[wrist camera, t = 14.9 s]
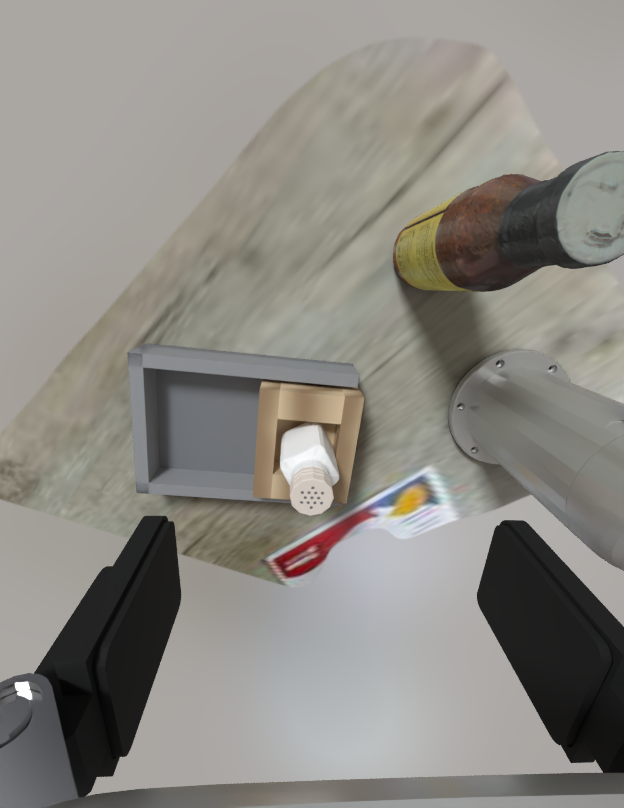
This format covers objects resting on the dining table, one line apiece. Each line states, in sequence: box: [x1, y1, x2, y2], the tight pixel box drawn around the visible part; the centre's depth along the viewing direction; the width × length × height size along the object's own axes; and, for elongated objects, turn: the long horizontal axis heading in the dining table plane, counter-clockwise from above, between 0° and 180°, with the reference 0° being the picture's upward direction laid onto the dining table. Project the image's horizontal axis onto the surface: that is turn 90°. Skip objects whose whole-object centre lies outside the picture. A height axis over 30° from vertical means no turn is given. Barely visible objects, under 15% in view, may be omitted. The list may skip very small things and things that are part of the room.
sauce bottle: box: [393, 151, 624, 292], centre depth 23 cm, size 6×6×20 cm
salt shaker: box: [280, 422, 339, 516], centre depth 30 cm, size 4×4×10 cm
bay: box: [128, 344, 359, 506], centre depth 36 cm, size 20×14×4 cm
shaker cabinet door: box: [253, 379, 364, 504], centre depth 35 cm, size 9×11×4 cm
